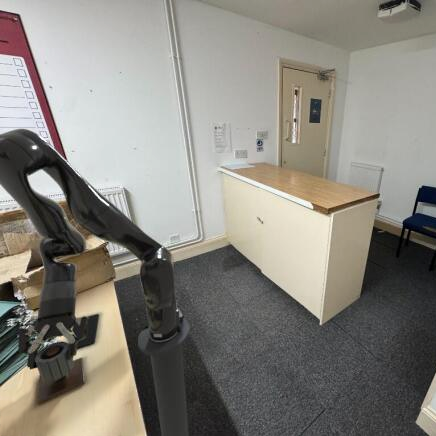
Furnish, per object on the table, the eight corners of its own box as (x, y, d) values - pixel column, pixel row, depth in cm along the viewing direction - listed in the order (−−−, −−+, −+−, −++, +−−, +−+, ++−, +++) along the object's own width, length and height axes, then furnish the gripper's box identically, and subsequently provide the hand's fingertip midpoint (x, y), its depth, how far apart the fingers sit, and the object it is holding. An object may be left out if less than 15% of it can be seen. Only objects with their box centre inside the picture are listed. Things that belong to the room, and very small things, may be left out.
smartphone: (66, 351, 74) (74, 319, 85) (66, 353, 74) (75, 321, 85) (94, 342, 77) (99, 313, 89) (94, 344, 77) (99, 314, 89)
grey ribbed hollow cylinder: (73, 355, 69) (68, 337, 66) (74, 372, 64) (68, 353, 62) (42, 368, 64) (35, 349, 62) (41, 386, 60) (33, 367, 58)
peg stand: (82, 359, 72) (74, 332, 68) (84, 383, 66) (76, 354, 62) (40, 377, 66) (29, 348, 62) (38, 404, 60) (26, 374, 56)
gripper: (15, 303, 61) (4, 376, 55) (86, 292, 68) (82, 355, 62) (30, 306, 67) (21, 372, 61) (94, 295, 74) (91, 353, 68)
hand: (52, 363), depth 62 cm, fingers closed on grey ribbed hollow cylinder, 6 cm apart
